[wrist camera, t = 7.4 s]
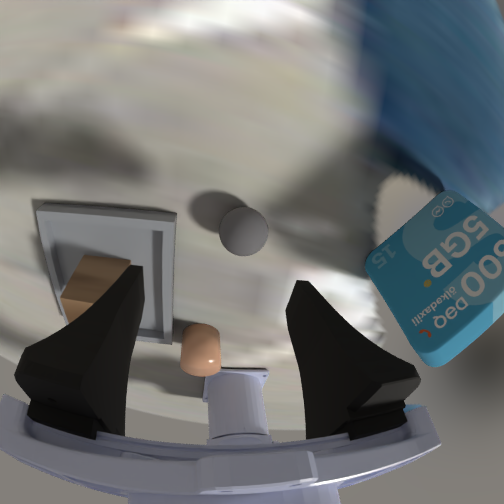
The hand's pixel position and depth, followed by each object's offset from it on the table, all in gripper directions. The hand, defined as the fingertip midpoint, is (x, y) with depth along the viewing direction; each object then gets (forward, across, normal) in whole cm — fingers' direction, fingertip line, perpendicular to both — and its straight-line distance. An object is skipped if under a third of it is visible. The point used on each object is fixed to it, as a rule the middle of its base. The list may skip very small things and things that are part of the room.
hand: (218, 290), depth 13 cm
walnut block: (+9, +9, +8) cm, 15 cm away
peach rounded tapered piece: (+10, 0, +15) cm, 18 cm away
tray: (+9, +9, +8) cm, 15 cm away
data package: (+10, -19, 0) cm, 21 cm away
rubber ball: (+9, -2, +1) cm, 10 cm away
